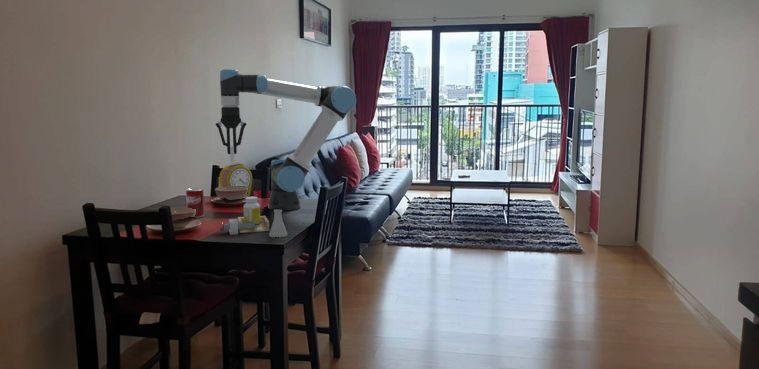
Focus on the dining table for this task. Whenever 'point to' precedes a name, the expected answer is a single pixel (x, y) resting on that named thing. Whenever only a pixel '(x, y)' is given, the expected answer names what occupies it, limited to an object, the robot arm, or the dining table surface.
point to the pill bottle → (252, 211)
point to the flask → (278, 226)
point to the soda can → (195, 201)
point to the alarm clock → (236, 176)
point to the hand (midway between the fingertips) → (232, 161)
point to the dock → (263, 227)
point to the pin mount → (233, 226)
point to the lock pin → (240, 225)
